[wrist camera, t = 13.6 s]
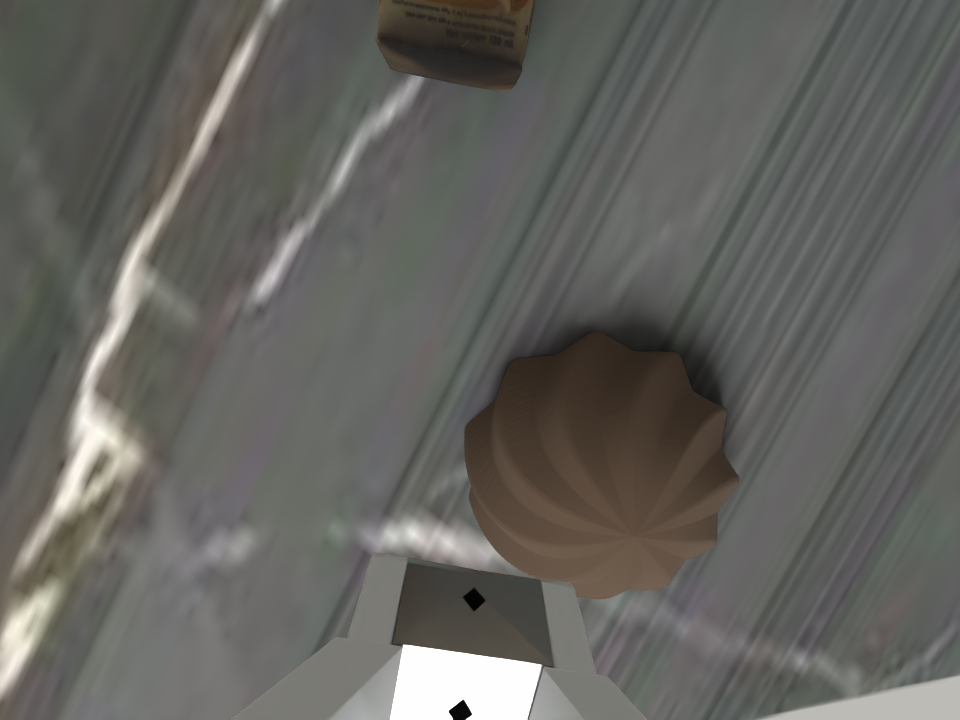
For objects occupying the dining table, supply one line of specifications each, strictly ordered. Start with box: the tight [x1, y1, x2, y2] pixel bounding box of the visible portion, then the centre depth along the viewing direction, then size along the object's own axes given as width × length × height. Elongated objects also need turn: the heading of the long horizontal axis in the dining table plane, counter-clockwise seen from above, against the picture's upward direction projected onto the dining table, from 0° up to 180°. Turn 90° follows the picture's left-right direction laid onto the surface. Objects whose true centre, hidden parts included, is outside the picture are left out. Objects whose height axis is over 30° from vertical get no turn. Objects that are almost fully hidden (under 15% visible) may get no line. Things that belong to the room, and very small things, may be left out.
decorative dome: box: [464, 331, 739, 599], centre depth 35 cm, size 19×20×10 cm
